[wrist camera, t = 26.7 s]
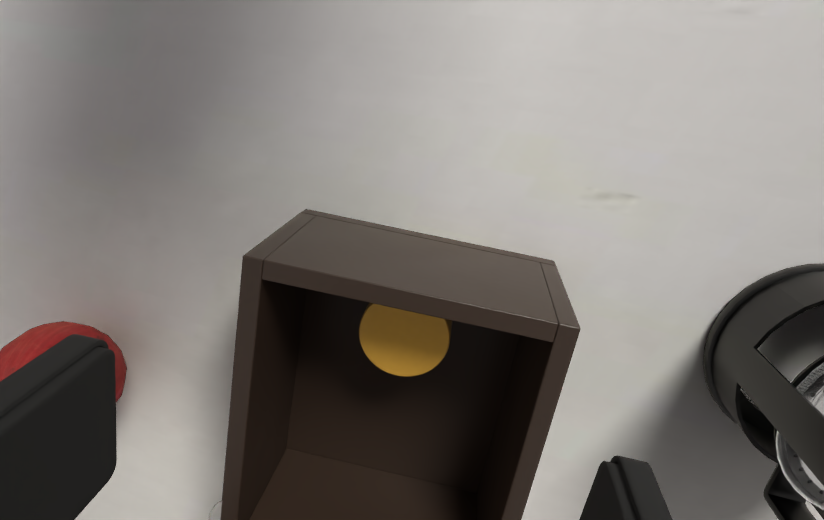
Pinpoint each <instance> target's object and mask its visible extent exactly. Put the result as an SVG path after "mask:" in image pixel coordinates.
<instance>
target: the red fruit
mask: <svg viewBox="0 0 824 520" xmlns="http://www.w3.org/2000/svg"><path fill="white" fill-rule="evenodd" d="M72 334H79V335H84V336H88V337H92V338H97V339H101V340H104V341H106V342H107V344H108V347H109V349H110V350H112V351H114V353H115V376H116V402H117V401H118V399H119V398H120V397H121V395H122V392H123V387H124V383H125V376H126V370H127V367H126V364H125V361H124V358H123V355H122V351H121V350H120V348H119V347H118V346H117V345H116V344H115V343H114V342H113V341H112V339H111V338H110V337H109V336H108V335H106V334H104V333H102V332H100V331H99V330H97V329H95V328H93V327H91V326H86V325H82V324H77V323H71V322H64V321H63V322H56V323H49V324H43V325H40V326H37V327H35V328H32V329H30V330H28V331H27V332H25V333H23V334H22V335H20V336H19V337H17V338H16V339H14V340H13V341H11V342H10V343H9V344H7V345H6V346H4V347H3V348H2V349H1V351H0V381H2V380H3V379H5V378H6V377H8V376H9V375H11V374H12V373H14V372H15V371H17V370H18V369H20V368H21V367H23V366H24V365H26V364H27V363H29V362H30V361H32V360H33V359H35V358H36V357H38V356H39V355H41V354H42V353H44V352H45V351H47V350H48V349H50V348H51V347H53V346H54V345H55V344H57V343H58V342H60V341H61V340H63V339H64V338H66V337H67V336H69V335H72Z"/></svg>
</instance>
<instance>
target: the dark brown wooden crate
mask: <svg viewBox="0 0 824 520" xmlns="http://www.w3.org/2000/svg"><path fill="white" fill-rule="evenodd" d="M369 303H373V304H378V305H382V306H387V307H392V308H396V309H401V310H405V311H410V312H415V313H419V314H424V315H429V316H433V317H438V318H442V319H447V320H452V328H451V336H450V343H449V348H448V351H447V353H446V355H445V357H444V358H443V360H442V361H441V362H440V363H439V364H438V365H437V366H436V367H435V368H433V369H432V370H430V371H428V372H426V373H424V374H421V375H417V376H411V377H404V376H397V375H393V374H390V373H387V372H385V371H383V370H381V369H380V368H378V367H377V366H376V365H374V364H373V363H372V362H371V361H370V360H369V358H368V357H367V356H366V354H365V352H364V351H363V348H362V346H361V343H360V339H359V325H360V321H361V318H362V316H363V314H364V312H365V310H366V308H367V306H368V304H369ZM579 332H580V326H579V324H578V321H577V318H576V316H575V313H574V311H573V308H572V306H571V303H570V300H569V298H568V295H567V293H566V290H565V288H564V285H563V282H562V280H561V277H560V275H559V272H558V270H557V267H556V265H555V262H554V261H552V260H547V259H542V258H537V257H533V256H528V255H523V254H518V253H514V252H509V251H504V250H499V249H494V248H490V247H485V246H480V245H475V244H470V243H466V242H461V241H456V240H451V239H446V238H442V237H437V236H432V235H427V234H422V233H418V232H413V231H408V230H403V229H399V228H394V227H389V226H384V225H379V224H375V223H370V222H365V221H360V220H355V219H351V218H346V217H341V216H336V215H331V214H327V213H322V212H317V211H312V210H307V209H305V210H304V211H303V212H301V213H300V214H298V215H297V216H296V217H294V218H293V219H292V220H290V221H289V222H288V223H286V224H285V225H284V226H282V227H281V228H280V229H278V230H277V231H276V232H274V233H273V234H272V235H270V236H269V237H268V238H266V239H265V240H264V241H262V242H261V243H260V244H258V245H257V246H256V247H254V248H253V249H252V250H250V251H249V252H248V253H246V254H245V255H244V256H243V262H242V274H241V285H240V297H239V309H238V320H237V332H236V343H235V355H234V367H233V378H232V390H231V402H230V413H229V425H228V437H227V448H226V460H225V471H224V483H223V495H222V506H221V518H220V520H521V518H522V515H523V512H524V509H525V506H526V502H527V499H528V496H529V493H530V489H531V486H532V483H533V480H534V477H535V473H536V470H537V467H538V464H539V461H540V457H541V454H542V451H543V448H544V444H545V441H546V438H547V435H548V432H549V428H550V425H551V422H552V419H553V415H554V412H555V409H556V406H557V403H558V399H559V396H560V393H561V390H562V386H563V383H564V380H565V377H566V374H567V370H568V367H569V364H570V361H571V357H572V354H573V351H574V348H575V345H576V341H577V338H578V335H579Z"/></svg>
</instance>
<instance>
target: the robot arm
mask: <svg viewBox="0 0 824 520" xmlns="http://www.w3.org/2000/svg"><path fill="white" fill-rule="evenodd" d="M115 466H116V376H115V353H114V351H112V350H110V349H109V347H108V344H107V342H106V341H104V340H101V339H97V338H92V337H88V336H84V335H79V334H72V335H69V336H67V337H66V338H64V339H63V340H61V341H60V342H58V343H57V344H55V345H54V346H53V347H51V348H50V349H48V350H47V351H45V352H44V353H42V354H41V355H39V356H38V357H36V358H35V359H33V360H32V361H30V362H29V363H27V364H26V365H24V366H23V367H21V368H20V369H18V370H17V371H15V372H14V373H12V374H11V375H9V376H8V377H6V378H5V379H3V380H2V381H0V520H74V519H75V518H76V517H77V516H78V515H79V514H80V513H81V511H82V510H83V509H84V508H85V507H86V506H87V505H88V504H89V502H90V501H91V500H92V499H93V498H94V497H95V496H96V495H97V493H98V492H99V491H100V490H101V489H102V488H103V487H104V485H105V484H106V483H107V482H108V481H109V479H110V478H111V476H112V474H113V472H114V470H115ZM580 520H672V517H671V515H670V512H669V510H668V507H667V505H666V503H665V500H664V498H663V495H662V493H661V490H660V488H659V485H658V483H657V481H656V478H655V476H654V473H653V471H652V468H651V467H650V465H649V464H648V463H647V462H643V461H639V460H635V459H630V458H626V457H621V456H614V457H613V458H612V459H611V461H610V462H606V461H603V462H602V463H601V464H600V466H599V469H598V471H597V474H596V477H595V479H594V482H593V485H592V487H591V490H590V493H589V495H588V498H587V501H586V503H585V506H584V509H583V512H582V514H581V517H580Z"/></svg>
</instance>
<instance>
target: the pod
mask: <svg viewBox="0 0 824 520" xmlns="http://www.w3.org/2000/svg"><path fill="white" fill-rule="evenodd" d="M451 328H452V320H447V319H442V318H438V317H433V316H429V315H424V314H419V313H415V312H410V311H405V310H401V309H396V308H392V307H387V306H382V305H378V304H373V303H369V304H368V306H367V308H366V310H365V312H364V314H363V316H362V318H361V321H360V325H359V339H360V343H361V346H362V348H363V351H364V352H365V354H366V356H367V357H368V358H369V360H370V361H371V362H372V363H373V364H374V365H376V366H377V367H378V368H380V369H381V370H383V371H385V372H387V373H390V374H393V375H397V376H404V377H411V376H417V375H421V374H424V373H426V372H428V371H430V370H432V369H433V368H435V367H436V366H437V365H438V364H439V363H440V362H441V361H442V360H443V358H444V357H445V355H446V353H447V351H448V348H449V343H450V336H451Z"/></svg>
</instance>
